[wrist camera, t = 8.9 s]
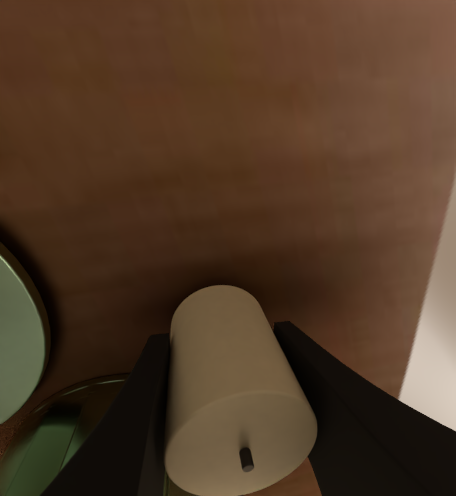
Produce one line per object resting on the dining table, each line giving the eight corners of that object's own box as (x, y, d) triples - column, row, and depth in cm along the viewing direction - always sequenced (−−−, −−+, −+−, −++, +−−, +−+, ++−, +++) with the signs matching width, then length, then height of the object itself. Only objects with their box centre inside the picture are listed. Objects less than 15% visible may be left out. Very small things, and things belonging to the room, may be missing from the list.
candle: (174, 366, 11) (168, 532, 6) (167, 287, 10) (154, 425, 5) (259, 355, 12) (315, 499, 7) (265, 281, 11) (339, 396, 6)
